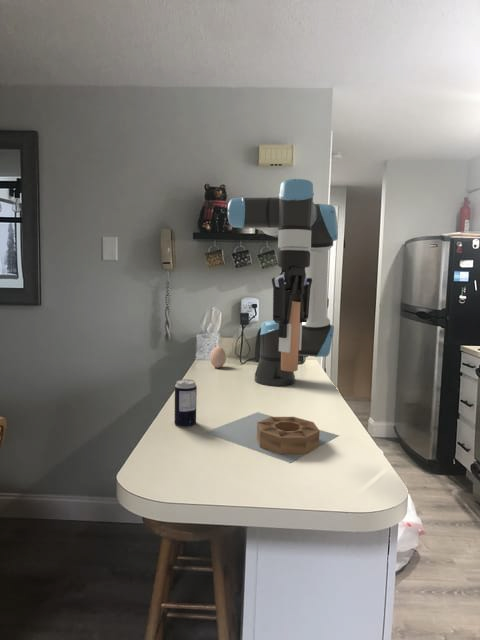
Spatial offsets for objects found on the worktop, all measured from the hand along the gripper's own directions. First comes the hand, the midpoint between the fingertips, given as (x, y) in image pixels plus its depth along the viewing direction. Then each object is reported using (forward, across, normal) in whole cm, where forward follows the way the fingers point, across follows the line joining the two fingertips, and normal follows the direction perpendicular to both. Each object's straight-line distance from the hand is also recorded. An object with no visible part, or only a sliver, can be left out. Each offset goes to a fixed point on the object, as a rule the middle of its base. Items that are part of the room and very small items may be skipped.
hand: (289, 350), depth 105 cm
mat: (+23, -2, -6) cm, 24 cm away
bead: (+22, 0, 0) cm, 22 cm away
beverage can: (+23, +8, -27) cm, 36 cm away
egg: (+23, -49, -68) cm, 87 cm away
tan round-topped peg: (+5, 0, 0) cm, 5 cm away
